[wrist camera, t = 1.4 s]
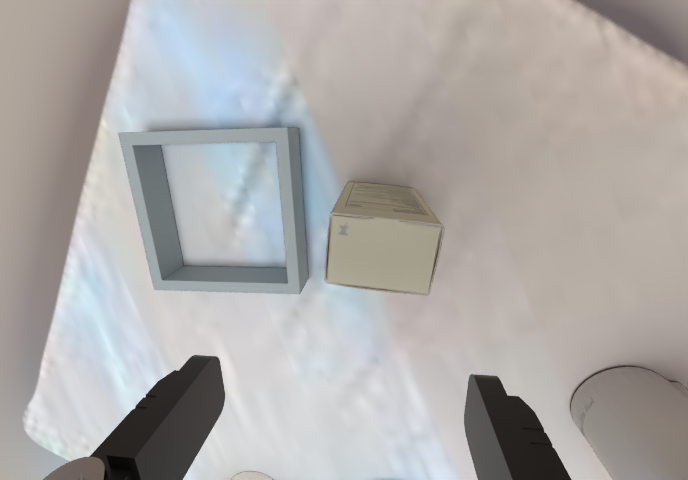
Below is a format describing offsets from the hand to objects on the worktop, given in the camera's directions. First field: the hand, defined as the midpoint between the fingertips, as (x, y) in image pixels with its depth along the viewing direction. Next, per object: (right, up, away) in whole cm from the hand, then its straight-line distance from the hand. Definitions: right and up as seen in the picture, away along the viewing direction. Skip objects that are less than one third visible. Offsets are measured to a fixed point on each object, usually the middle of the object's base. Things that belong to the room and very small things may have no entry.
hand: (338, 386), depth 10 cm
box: (-11, +8, +20) cm, 24 cm away
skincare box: (+3, +8, +19) cm, 21 cm away
